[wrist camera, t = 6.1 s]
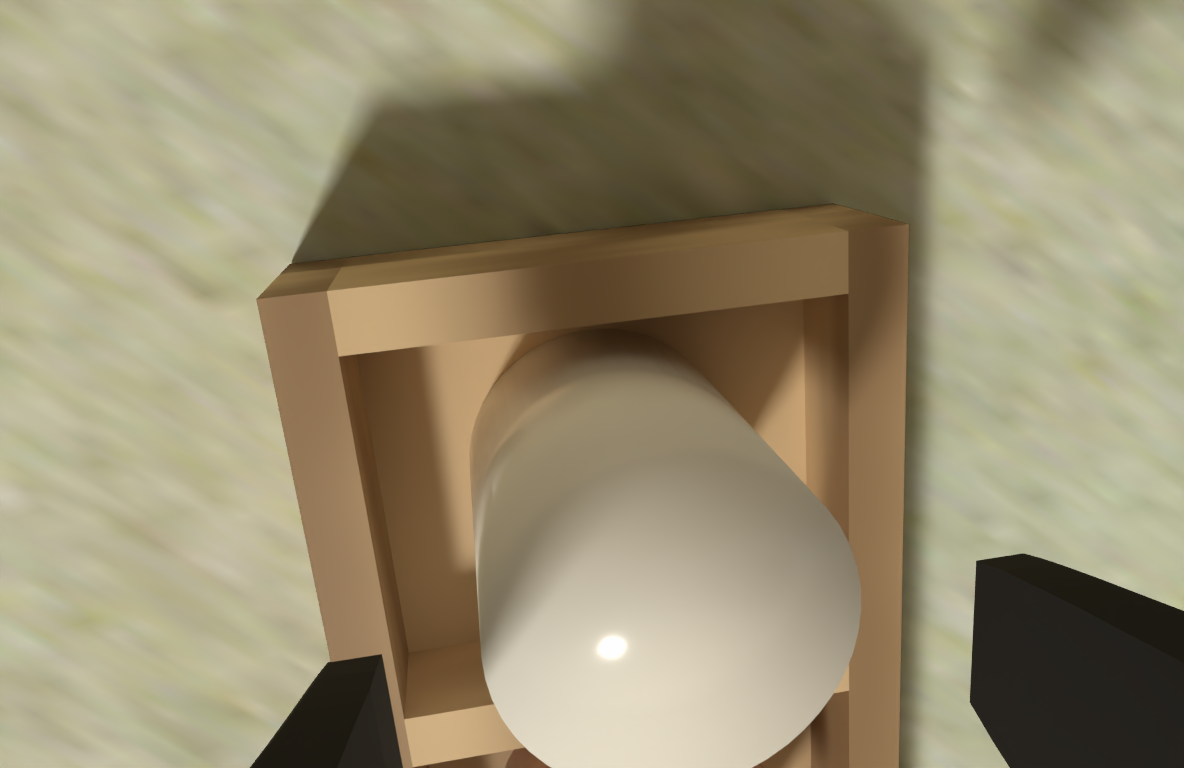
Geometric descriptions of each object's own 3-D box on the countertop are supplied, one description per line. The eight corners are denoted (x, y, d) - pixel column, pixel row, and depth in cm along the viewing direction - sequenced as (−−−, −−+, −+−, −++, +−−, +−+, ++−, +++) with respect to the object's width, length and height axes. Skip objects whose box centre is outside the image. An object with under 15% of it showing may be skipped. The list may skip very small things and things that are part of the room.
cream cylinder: (725, 318, 17) (869, 432, 11) (725, 556, 18) (853, 765, 12) (457, 339, 16) (463, 472, 10) (480, 584, 17) (496, 818, 12)
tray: (833, 203, 17) (909, 223, 14) (837, 869, 22) (894, 982, 19) (290, 263, 16) (255, 299, 13) (421, 952, 21) (417, 1085, 18)
